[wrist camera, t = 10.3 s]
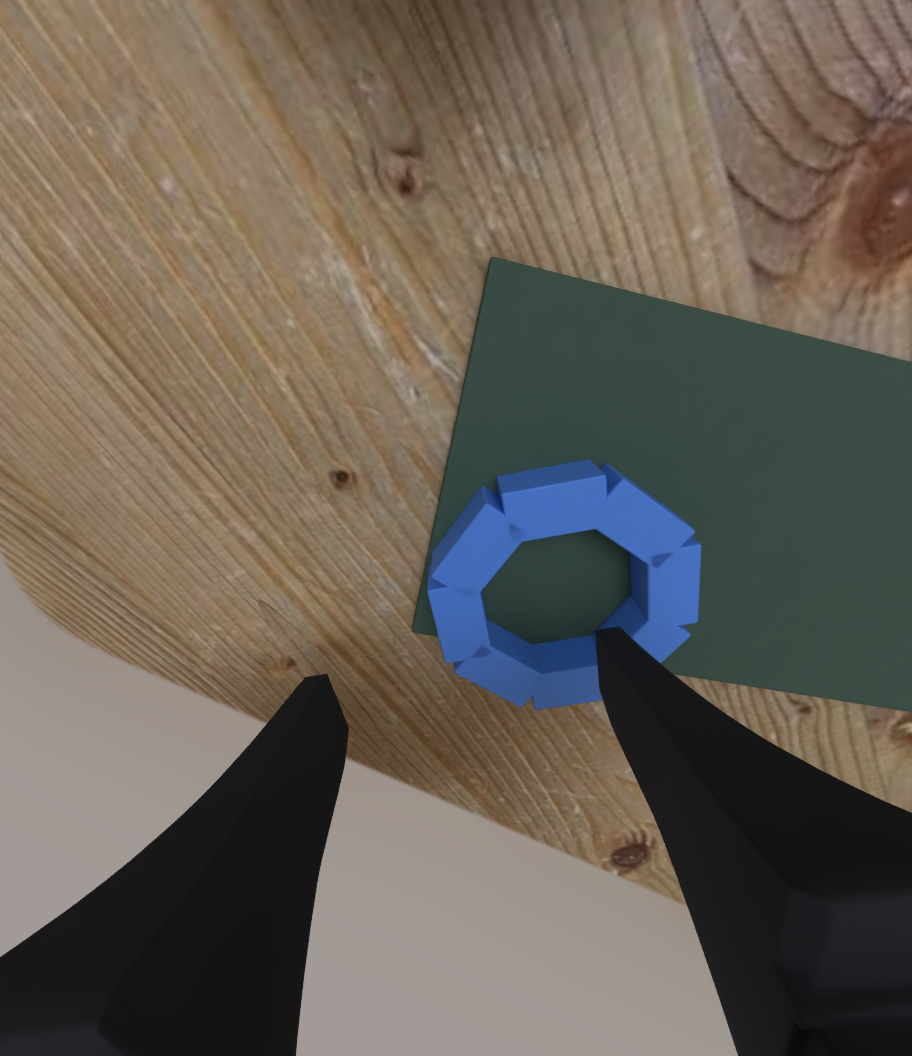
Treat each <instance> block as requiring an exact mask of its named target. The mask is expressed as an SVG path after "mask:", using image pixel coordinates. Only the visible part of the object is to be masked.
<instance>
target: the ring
mask: <svg viewBox="0 0 912 1056" xmlns="http://www.w3.org/2000/svg"><path fill="white" fill-rule="evenodd" d="M496 481H497V488H498V494H499V495H497V494H496V493H494V492H493V491H491V490H490V489H488V488H487V487H485V486H481V487H480V489H479V490H478V491H477V493H476V494H475V495H474V497H473V498H472V499H471V501H470V502H469V503H468V505H467V506H466V507H465V509H464V510H463V512H462V513H461V514H460V516H459V517H458V518H457V520H456V521H455V522H454V524H453V525H452V526H451V528H450V529H449V530H448V532H447V533H446V534H445V536H444V537H443V538H442V540H441V541H440V542H439V544H438V545H437V546H436V548H435V549H434V551H433V552H432V561H431V566H429V572H428V587H427V593H428V597H429V601H430V605H431V609H432V613H433V617H434V621H435V625H436V629H437V633H438V637H439V641H440V645H441V649H442V653H443V657H444V661H445V663H452V662H454V672H455V673H456V674H457V675H459V676H461V677H463V678H465V679H467V680H469V681H471V682H473V683H475V684H477V685H479V686H480V687H482V688H484V689H486V690H488V691H490V692H492V693H494V694H496V695H498V696H500V697H502V698H504V699H506V700H508V701H510V702H512V703H514V704H515V705H517V706H519V707H522V706H523V705H524V704H525V703H526V702H527V701H528V700H529V699H530V698H531V697H532V700H533V704H534V709H535V710H540V709H546V708H553V707H559V706H566V705H572V704H579V703H586V702H592V701H599V700H603V699H602V696H601V693H600V690H599V679H598V666H597V652H596V638H595V632H594V633H593V634H592V635H588V636H582V637H576V638H569V639H563V640H557V641H551V642H544V643H538V644H531V643H529V642H527V641H525V640H524V639H522V638H520V637H518V636H516V635H515V634H513V633H511V632H509V631H508V630H506V629H504V628H502V627H500V626H499V625H497V624H495V623H493V622H492V621H490V620H488V619H487V615H486V610H485V604H484V599H483V594H482V590H483V588H484V587H485V586H486V585H487V584H488V582H489V581H490V580H491V579H492V578H493V576H494V575H495V574H496V573H497V572H498V570H499V569H500V568H501V567H502V565H503V564H504V563H505V562H506V561H507V559H508V558H509V557H510V556H511V555H512V553H513V552H514V551H515V550H516V548H517V547H518V546H519V545H520V544H521V542H524V541H529V540H535V539H541V538H547V537H552V536H558V535H564V534H569V533H575V532H581V531H587V530H592V529H596V530H597V531H599V532H600V533H602V534H603V535H605V536H606V537H608V538H609V539H611V540H612V541H614V542H615V543H616V544H618V545H619V546H621V547H622V548H624V549H625V550H627V551H628V552H630V575H631V595H630V596H629V597H628V598H627V599H626V600H625V601H624V602H623V603H622V604H621V605H620V606H619V607H618V608H617V609H616V610H615V612H614V613H613V614H612V615H611V616H610V617H609V618H608V619H607V620H606V621H605V622H604V623H603V624H602V625H601V626H600V627H599V628H598V629H597V630H599V629H605V628H612V627H618V626H619V627H620V628H622V629H623V630H624V631H625V632H626V633H627V634H628V635H629V636H630V637H631V638H633V639H634V640H635V641H636V642H637V643H638V644H639V645H640V646H641V647H642V648H643V649H645V650H646V651H647V652H648V653H649V654H650V655H651V656H652V657H654V658H655V659H656V660H657V661H658V662H659V663H661V662H663V661H664V660H665V659H666V658H667V657H668V656H669V655H670V654H671V653H672V652H674V651H675V650H676V649H677V648H678V647H679V646H680V645H681V644H682V643H683V642H685V641H686V640H687V639H688V638H689V637H690V633H689V631H688V630H687V629H686V628H685V626H684V625H686V624H693V623H697V622H698V608H699V587H700V565H701V544H700V543H699V542H698V541H697V540H696V539H694V538H693V537H692V535H693V534H694V533H695V530H694V529H693V528H692V527H691V526H690V525H688V524H687V523H686V522H685V521H684V520H683V519H681V518H680V517H679V516H678V515H677V514H676V513H674V512H673V511H672V510H671V509H669V508H668V507H667V506H665V505H664V504H663V503H661V502H660V501H658V500H657V499H656V498H654V497H653V496H652V495H650V494H649V493H647V492H646V491H645V490H643V489H642V488H641V487H639V486H638V485H637V484H635V483H634V482H632V481H631V480H630V479H628V478H627V477H626V476H624V475H623V474H621V473H620V472H619V471H617V470H616V469H615V468H613V467H612V466H610V465H609V464H608V463H605V464H604V465H603V466H602V467H601V468H600V469H599V468H598V467H597V466H596V465H595V464H594V463H593V462H592V461H591V460H590V459H587V460H582V461H576V462H571V463H565V464H560V465H554V466H549V467H544V468H538V469H533V470H527V471H522V472H517V473H511V474H506V475H500V476H497V477H496Z"/></svg>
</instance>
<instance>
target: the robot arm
mask: <svg viewBox="0 0 912 1056" xmlns="http://www.w3.org/2000/svg"><path fill="white" fill-rule="evenodd" d="M595 638H596V652H597V666H598V679H599V690H600V693H601V696H602V699H603V702H604V705H605V708H606V711H607V714H608V717H609V720H610V722H611V725H612V728H613V730H614V732H615V734H616V737H617V739H618V741H619V743H620V745H621V747H622V749H623V752H624V754H625V756H626V758H627V760H628V762H629V764H630V767H631V769H632V771H633V773H634V775H635V777H636V779H637V781H638V784H639V786H640V788H641V790H642V792H643V794H644V796H645V798H646V801H647V803H648V805H649V807H650V809H651V811H652V813H653V816H654V818H655V820H656V823H657V825H658V828H659V830H660V832H661V835H662V838H663V840H664V843H665V846H666V848H667V851H668V854H669V857H670V859H671V862H672V865H673V867H674V870H675V873H676V875H677V878H678V881H679V884H680V887H681V889H682V892H683V895H684V898H685V901H686V903H687V906H688V909H689V912H690V915H691V917H692V920H693V923H694V926H695V929H696V932H697V934H698V937H699V940H700V943H701V946H702V949H703V952H704V955H705V958H706V961H707V964H708V967H709V969H710V972H711V975H712V978H713V981H714V984H715V987H716V990H717V993H718V996H719V999H720V1002H721V1005H722V1008H723V1011H724V1014H725V1017H726V1020H727V1023H728V1026H729V1029H730V1032H731V1035H732V1038H733V1041H734V1044H735V1047H736V1051H737V1053H738V1056H912V813H911V812H908V811H906V810H904V809H901V808H899V807H897V806H894V805H892V804H890V803H887V802H885V801H883V800H881V799H878V798H876V797H874V796H872V795H870V794H868V793H866V792H864V791H862V790H860V789H857V788H855V787H853V786H851V785H849V784H847V783H845V782H843V781H841V780H839V779H837V778H835V777H833V776H831V775H829V774H827V773H825V772H823V771H821V770H819V769H817V768H816V767H814V766H812V765H810V764H808V763H806V762H805V761H803V760H801V759H799V758H797V757H796V756H794V755H792V754H790V753H788V752H786V751H785V750H783V749H781V748H779V747H777V746H776V745H774V744H772V743H771V742H769V741H767V740H766V739H764V738H762V737H761V736H759V735H757V734H756V733H754V732H753V731H751V730H749V729H748V728H746V727H745V726H743V725H742V724H740V723H739V722H737V721H736V720H734V719H733V718H731V717H730V716H728V715H727V714H725V713H724V712H722V711H721V710H720V709H718V708H717V707H715V706H714V705H713V704H711V703H710V702H709V701H707V700H706V699H704V698H703V697H702V696H700V695H699V694H698V693H696V692H695V691H694V690H693V689H691V688H690V687H689V686H687V685H686V684H685V683H684V682H682V681H681V680H680V679H679V678H677V677H676V676H675V675H674V674H673V673H671V672H670V671H669V670H668V669H666V668H665V667H664V666H663V665H662V664H661V663H659V662H658V661H657V660H656V659H655V658H654V657H652V656H651V655H650V654H649V653H648V652H647V651H646V650H645V649H643V648H642V647H641V646H640V645H639V644H638V643H637V642H636V641H635V640H634V639H633V638H631V637H630V636H629V635H628V634H627V633H626V632H625V631H624V630H623V629H622V628H620V627H619V626H618V627H612V628H605V629H599V630H595ZM348 731H349V727H348V725H347V722H346V720H345V717H344V715H343V712H342V710H341V707H340V705H339V702H338V700H337V697H336V695H335V692H334V690H333V687H332V685H331V682H330V680H329V677H328V675H327V674H322V675H316V676H310V677H305V678H304V680H303V681H302V682H301V683H300V684H299V685H298V687H297V688H296V689H295V690H294V691H293V693H292V694H291V695H290V696H289V698H288V699H287V700H286V701H285V702H284V704H283V705H282V706H281V707H280V709H279V710H278V711H277V712H276V714H275V715H274V716H273V717H272V718H271V720H270V721H269V722H268V723H267V724H266V726H265V727H264V728H263V729H262V730H261V732H260V733H259V734H258V735H257V736H256V738H255V739H254V740H253V741H252V742H251V743H250V745H249V746H248V747H247V748H246V749H245V750H244V751H243V753H241V755H240V756H239V757H238V758H237V759H236V760H235V761H234V762H233V764H232V765H231V766H230V767H229V768H228V769H227V770H226V771H225V772H224V773H223V775H222V776H221V777H220V778H219V779H218V780H217V781H216V782H215V783H214V784H213V785H212V786H211V787H210V788H209V789H208V790H207V791H206V792H205V793H204V794H203V795H202V796H201V797H200V798H199V799H198V800H197V801H196V802H195V803H194V804H193V805H192V806H191V807H190V808H189V809H188V810H187V811H186V812H185V813H184V814H183V815H182V816H181V817H180V818H178V819H177V820H176V821H175V822H174V823H173V824H172V825H171V826H170V827H168V828H167V829H166V830H165V831H164V832H163V833H162V834H160V835H159V836H158V837H157V838H156V839H155V840H154V841H153V842H151V843H150V844H149V845H148V846H147V847H146V848H144V849H143V850H142V851H141V852H140V853H139V854H138V855H136V856H135V857H134V858H133V859H132V860H131V861H130V862H128V863H127V864H126V865H124V866H123V867H122V868H121V869H120V870H118V871H117V872H116V873H115V874H113V875H112V876H111V877H110V878H108V879H107V880H106V881H105V882H103V883H102V884H101V885H99V886H98V887H97V888H95V889H94V890H93V891H92V892H90V893H89V894H88V895H86V896H85V897H84V898H83V899H81V900H80V901H79V902H77V903H76V904H75V905H73V906H72V907H70V908H69V909H68V910H66V911H65V912H64V913H62V914H61V915H60V916H58V917H57V918H55V919H54V920H52V921H51V922H50V923H48V924H47V925H45V926H44V927H43V928H41V929H40V930H38V931H37V932H36V933H34V934H33V935H31V936H30V937H28V938H27V939H26V940H24V941H23V942H21V943H20V944H19V945H17V946H16V947H14V948H13V949H11V950H10V951H9V952H7V953H6V954H4V955H3V956H1V957H0V1056H296V1047H297V1036H298V1027H299V1017H300V1008H301V1000H302V990H303V981H304V973H305V965H306V957H307V950H308V943H309V935H310V927H311V921H312V914H313V907H314V901H315V894H316V888H317V881H318V876H319V871H320V866H321V861H322V857H323V853H324V849H325V844H326V840H327V836H328V832H329V828H330V824H331V820H332V816H333V811H334V808H335V804H336V800H337V796H338V791H339V787H340V783H341V778H342V774H343V770H344V765H345V757H346V750H347V740H348Z"/></svg>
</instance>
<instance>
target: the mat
mask: <svg viewBox="0 0 912 1056" xmlns="http://www.w3.org/2000/svg"><path fill="white" fill-rule="evenodd" d="M587 459H590V460H591V461H592V462H593V463H594V464H595V465H596V466H597V467H598V468H599V469H600V468H601V467H602V466H603V465H604V464H605V463H608V464H609V465H610V466H612V467H613V468H615V469H616V470H617V471H619V472H620V473H621V474H623V475H624V476H626V477H627V478H628V479H630V480H631V481H632V482H634V483H635V484H637V485H638V486H639V487H641V488H642V489H643V490H645V491H646V492H647V493H649V494H650V495H652V496H653V497H654V498H656V499H657V500H658V501H660V502H661V503H663V504H664V505H665V506H667V507H668V508H669V509H671V510H672V511H673V512H674V513H676V514H677V515H678V516H679V517H680V518H681V519H683V520H684V521H685V522H686V523H687V524H688V525H690V526H691V527H692V528H693V529H694V530H695V533H694V534H693V535H692V537H693V538H694V539H696V540H697V541H698V542H699V543H700V544H701V565H700V587H699V608H698V622H697V623H693V624H686V625H684V626H685V628H686V629H687V630H688V631H689V633H690V637H689V638H688V639H687V640H686V641H685V642H683V643H682V644H681V645H680V646H679V647H678V648H677V649H676V650H675V651H674V652H672V653H671V654H670V655H669V656H668V657H667V658H666V659H665V660H664V661H663V662H661V664H662V665H663V666H664V667H665V668H666V669H668V670H669V671H670V672H671V673H673V674H676V675H683V676H689V677H695V678H702V679H708V680H714V681H720V682H727V683H733V684H739V685H745V686H752V687H758V688H764V689H771V690H777V691H783V692H789V693H796V694H802V695H808V696H814V697H821V698H827V699H833V700H840V701H846V702H852V703H858V704H865V705H871V706H877V707H884V708H890V709H896V710H902V711H909V712H912V362H908V361H904V360H900V359H896V358H892V357H888V356H884V355H880V354H876V353H873V352H869V351H865V350H861V349H857V348H853V347H849V346H845V345H841V344H837V343H833V342H829V341H825V340H821V339H817V338H813V337H809V336H805V335H801V334H797V333H793V332H789V331H785V330H781V329H777V328H773V327H769V326H765V325H761V324H757V323H753V322H749V321H745V320H741V319H737V318H733V317H730V316H726V315H722V314H718V313H714V312H710V311H706V310H702V309H698V308H694V307H690V306H686V305H682V304H678V303H674V302H670V301H666V300H662V299H658V298H654V297H650V296H646V295H642V294H638V293H634V292H630V291H626V290H622V289H618V288H614V287H610V286H606V285H602V284H598V283H594V282H590V281H587V280H583V279H579V278H575V277H571V276H567V275H563V274H559V273H555V272H551V271H547V270H543V269H539V268H535V267H531V266H527V265H523V264H519V263H515V262H511V261H507V260H503V259H499V258H495V257H492V258H491V259H490V262H489V266H488V271H487V276H486V280H485V285H484V290H483V295H482V299H481V304H480V309H479V313H478V318H477V323H476V328H475V332H474V337H473V342H472V347H471V351H470V356H469V361H468V365H467V370H466V375H465V380H464V384H463V389H462V394H461V398H460V403H459V408H458V413H457V417H456V422H455V427H454V432H453V436H452V441H451V446H450V450H449V455H448V460H447V465H446V469H445V474H444V479H443V483H442V488H441V493H440V498H439V502H438V507H437V512H436V516H435V521H434V526H433V531H432V535H431V540H430V545H429V550H428V554H427V559H426V564H425V568H424V573H423V578H422V583H421V587H420V592H419V597H418V601H417V606H416V611H415V616H414V620H413V625H412V632H413V633H419V634H425V635H432V636H438V633H437V629H436V625H435V621H434V617H433V613H432V609H431V605H430V601H429V597H428V593H427V587H428V572H429V566H431V561H432V552H433V551H434V549H435V548H436V546H437V545H438V544H439V542H440V541H441V540H442V538H443V537H444V536H445V534H446V533H447V532H448V530H449V529H450V528H451V526H452V525H453V524H454V522H455V521H456V520H457V518H458V517H459V516H460V514H461V513H462V512H463V510H464V509H465V507H466V506H467V505H468V503H469V502H470V501H471V499H472V498H473V497H474V495H475V494H476V493H477V491H478V490H479V489H480V487H481V486H485V487H487V488H488V489H490V490H491V491H493V492H494V493H496V494H497V495H499V494H498V488H497V481H496V477H497V476H500V475H506V474H511V473H517V472H522V471H527V470H533V469H538V468H544V467H549V466H554V465H560V464H565V463H571V462H576V461H582V460H587ZM482 594H483V599H484V604H485V610H486V615H487V619H488V620H490V621H492V622H493V623H495V624H497V625H499V626H500V627H502V628H504V629H506V630H508V631H509V632H511V633H513V634H515V635H516V636H518V637H520V638H522V639H524V640H525V641H527V642H529V643H531V644H538V643H544V642H551V641H557V640H563V639H569V638H576V637H582V636H588V635H592V634H593V633H594V632H595V630H597V629H598V628H599V627H600V626H601V625H602V624H603V623H604V622H605V621H606V620H607V619H608V618H609V617H610V616H611V615H612V614H613V613H614V612H615V610H616V609H617V608H618V607H619V606H620V605H621V604H622V603H623V602H624V601H625V600H626V599H627V598H628V597H629V596H630V595H631V575H630V552H628V551H627V550H625V549H624V548H622V547H621V546H619V545H618V544H616V543H615V542H614V541H612V540H611V539H609V538H608V537H606V536H605V535H603V534H602V533H600V532H599V531H597V530H596V529H592V530H587V531H581V532H575V533H569V534H564V535H558V536H552V537H547V538H541V539H535V540H529V541H524V542H521V544H520V545H519V546H518V547H517V548H516V550H515V551H514V552H513V553H512V555H511V556H510V557H509V558H508V559H507V561H506V562H505V563H504V564H503V565H502V567H501V568H500V569H499V570H498V572H497V573H496V574H495V575H494V576H493V578H492V579H491V580H490V581H489V582H488V584H487V585H486V586H485V587H484V588H483V590H482Z"/></svg>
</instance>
